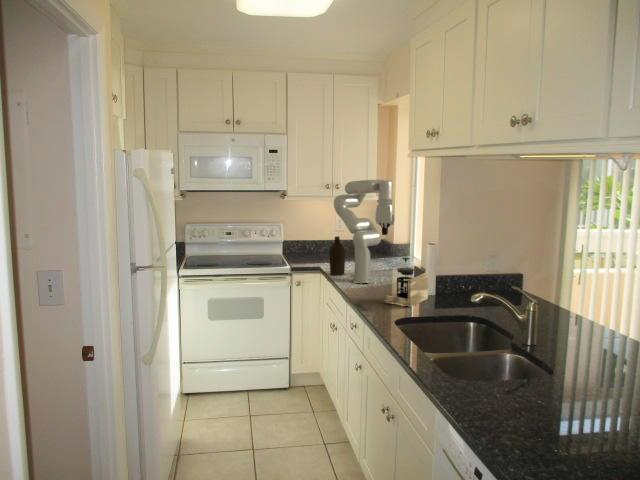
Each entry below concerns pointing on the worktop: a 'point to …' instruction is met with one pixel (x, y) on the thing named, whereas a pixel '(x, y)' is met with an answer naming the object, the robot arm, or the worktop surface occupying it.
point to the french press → (405, 272)
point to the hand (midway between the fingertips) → (384, 234)
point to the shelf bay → (413, 291)
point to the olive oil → (337, 258)
